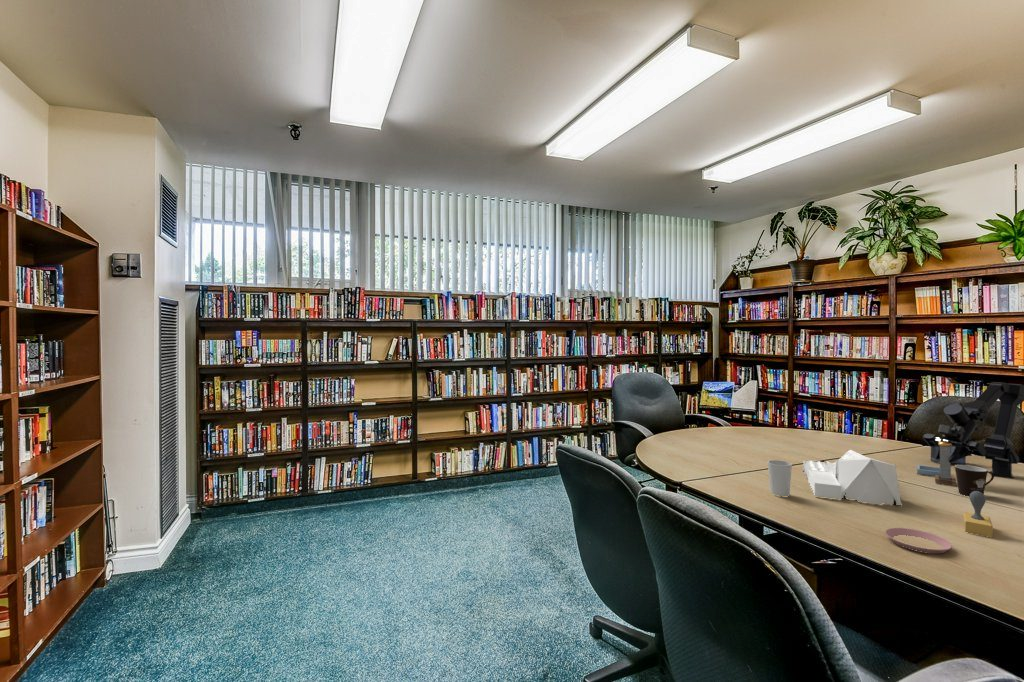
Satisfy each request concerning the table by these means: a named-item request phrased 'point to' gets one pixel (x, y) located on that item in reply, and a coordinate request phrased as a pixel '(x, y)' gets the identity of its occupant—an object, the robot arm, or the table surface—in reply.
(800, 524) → the table surface
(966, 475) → the coffee mug
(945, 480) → the block
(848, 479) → the white faceted model
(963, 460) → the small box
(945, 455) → the pin
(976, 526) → the rubber stamp
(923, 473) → the tray
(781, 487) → the cup
